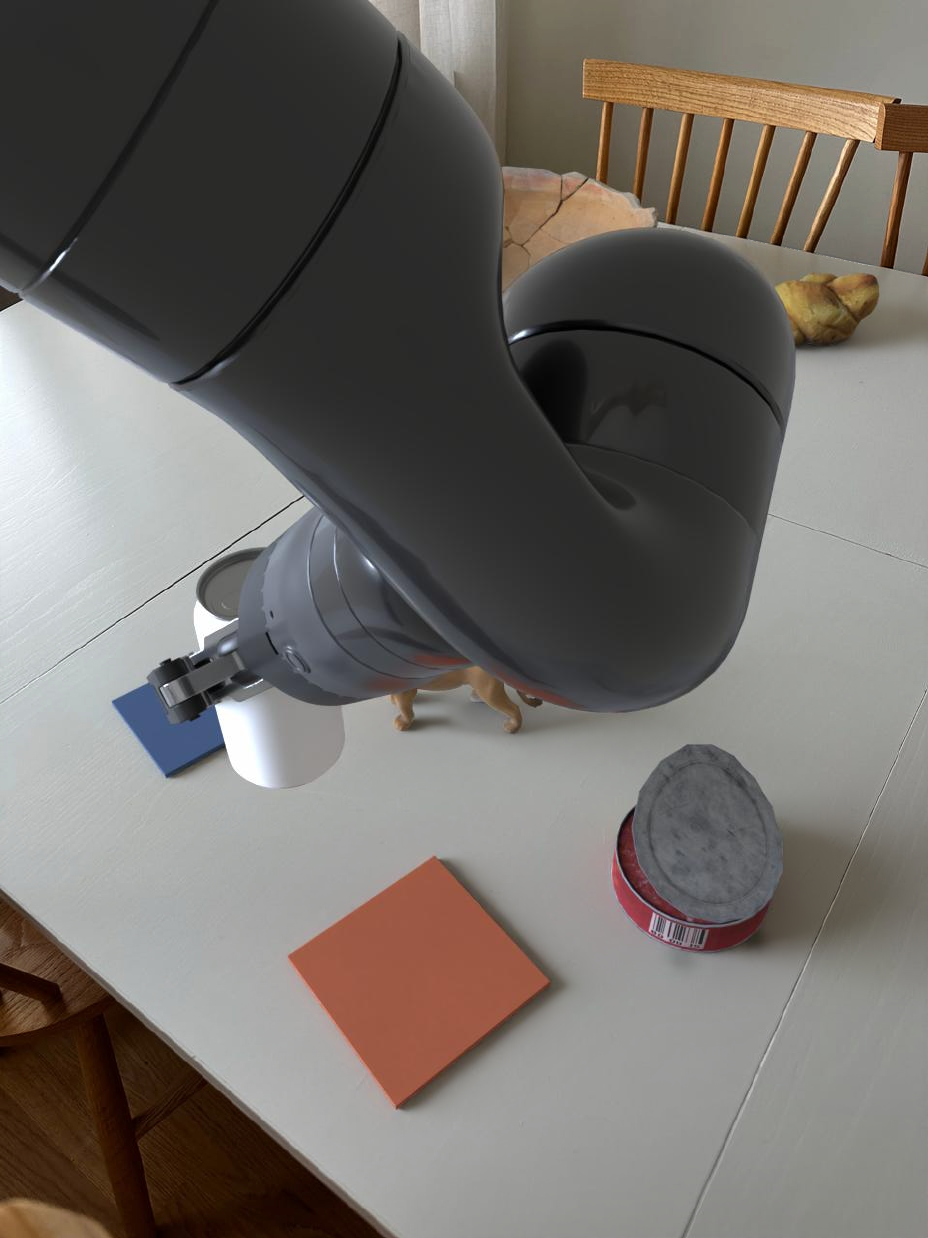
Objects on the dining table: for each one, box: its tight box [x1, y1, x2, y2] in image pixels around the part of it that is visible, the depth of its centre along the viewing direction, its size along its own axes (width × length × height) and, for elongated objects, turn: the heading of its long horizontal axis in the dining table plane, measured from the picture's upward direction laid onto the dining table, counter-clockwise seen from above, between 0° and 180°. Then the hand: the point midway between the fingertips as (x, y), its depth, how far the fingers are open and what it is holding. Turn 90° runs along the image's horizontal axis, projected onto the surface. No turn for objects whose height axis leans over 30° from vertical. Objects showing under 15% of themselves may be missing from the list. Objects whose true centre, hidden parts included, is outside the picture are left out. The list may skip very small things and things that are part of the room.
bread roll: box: [774, 271, 880, 348], centre depth 113 cm, size 13×10×8 cm
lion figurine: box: [388, 666, 544, 734], centre depth 69 cm, size 15×5×9 cm, turn 95°
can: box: [193, 546, 346, 790], centre depth 51 cm, size 6×6×12 cm
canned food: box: [610, 743, 784, 953], centre depth 60 cm, size 11×10×10 cm
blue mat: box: [111, 682, 226, 779], centre depth 73 cm, size 12×9×1 cm
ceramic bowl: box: [501, 166, 660, 292], centre depth 118 cm, size 30×27×15 cm
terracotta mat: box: [286, 855, 551, 1110], centre depth 57 cm, size 11×11×1 cm
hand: (256, 652), depth 51 cm, fingers closed on can, 6 cm apart
